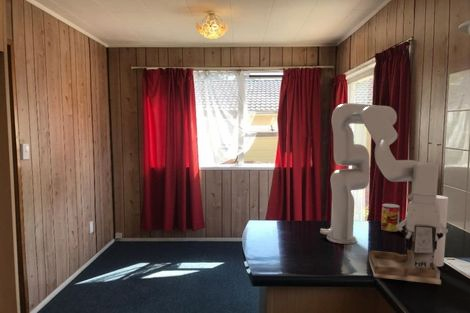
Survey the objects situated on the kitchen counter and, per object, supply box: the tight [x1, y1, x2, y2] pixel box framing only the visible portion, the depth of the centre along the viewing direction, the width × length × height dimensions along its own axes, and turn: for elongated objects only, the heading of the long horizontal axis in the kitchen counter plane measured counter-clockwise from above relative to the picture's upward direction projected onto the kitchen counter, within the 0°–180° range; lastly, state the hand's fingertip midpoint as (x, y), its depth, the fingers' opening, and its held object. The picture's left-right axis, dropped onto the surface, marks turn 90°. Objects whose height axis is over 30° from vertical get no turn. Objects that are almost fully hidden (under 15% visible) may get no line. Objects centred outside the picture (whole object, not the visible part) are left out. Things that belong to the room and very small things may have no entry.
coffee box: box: [406, 225, 436, 270], centre depth 122 cm, size 9×6×16 cm
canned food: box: [380, 203, 401, 232], centre depth 175 cm, size 8×8×12 cm
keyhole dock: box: [368, 249, 442, 285], centre depth 124 cm, size 20×16×4 cm
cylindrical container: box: [433, 194, 449, 268], centre depth 131 cm, size 7×7×25 cm
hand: (420, 249), depth 122 cm, fingers open, 6 cm apart
